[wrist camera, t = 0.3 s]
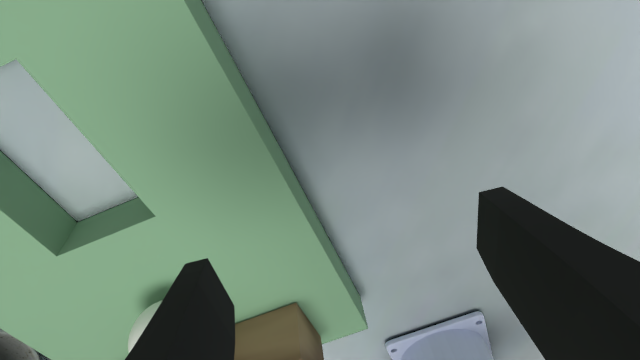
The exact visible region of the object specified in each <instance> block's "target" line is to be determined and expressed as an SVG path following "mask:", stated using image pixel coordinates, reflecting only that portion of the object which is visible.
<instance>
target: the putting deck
mask: <svg viewBox="0 0 640 360" xmlns="http://www.w3.org/2000/svg"><path fill="white" fill-rule="evenodd" d="M15 59H17V61H18V62H19V63H20V64H21V65H22V66H23V67H24V69H25V70H26V71H27V72H28V73H29V74H30V75H31V76H32V78H33V79H34V80H35V81H36V82H37V83H38V84H39V85H40V87H41V88H42V89H43V90H44V91H45V92H46V93H47V94H48V96H49V97H50V98H51V99H52V100H53V101H54V102H55V103H56V105H57V106H58V107H59V108H60V109H61V110H62V111H63V112H64V114H65V115H66V116H67V117H68V118H69V119H70V120H71V121H72V123H73V124H74V125H75V126H76V127H77V128H78V129H79V130H80V132H81V133H82V134H83V135H84V136H85V137H86V138H87V139H88V141H89V142H90V143H91V144H92V145H93V146H94V147H95V148H96V150H97V151H98V152H99V153H100V154H101V155H102V156H103V157H104V159H105V160H106V161H107V162H108V163H109V164H110V165H111V166H112V168H113V169H114V170H115V171H116V172H117V173H118V174H119V176H120V177H121V178H122V179H123V180H124V181H125V182H126V183H127V185H128V186H129V187H130V188H131V189H132V190H133V191H134V192H135V194H136V195H137V196H138V198H135V199H133V200H131V201H128V202H126V203H123V204H121V205H118V206H116V207H114V208H111V209H109V210H106V211H104V212H101V213H99V214H97V215H94V216H92V217H89V218H87V219H85V220H82V221H80V222H76V221H75V220H74V219H73V218H72V217H71V216H70V215H69V214H68V213H66V212H65V211H64V210H63V209H62V208H61V207H60V206H59V205H58V204H57V203H56V202H55V201H54V200H53V199H51V198H50V197H49V196H48V195H47V194H46V193H45V192H44V191H43V190H42V189H41V188H40V187H39V186H37V185H36V184H35V183H34V182H33V181H32V180H31V179H30V178H29V177H28V176H27V175H26V174H25V173H24V172H22V171H21V170H20V169H19V168H18V167H17V166H16V165H15V164H14V163H13V162H12V161H11V160H10V159H8V158H7V157H6V156H5V155H4V154H3V153H2V152H1V151H0V329H2V330H4V331H5V332H7V333H8V334H10V335H12V336H13V337H15V338H17V339H18V340H20V341H21V342H23V343H25V344H26V345H28V346H30V347H31V348H33V349H34V350H36V351H38V352H39V353H41V354H43V355H44V356H46V357H47V358H49V359H51V360H125V358H126V357H127V356H128V354H129V352H128V339H129V334H130V331H131V329H132V326H133V324H134V323H135V321H136V319H137V318H138V317H139V315H140V314H141V313H142V312H143V311H144V310H145V309H147V308H148V307H149V306H151V305H153V304H154V303H156V302H159V301H161V300H163V299H164V297H165V296H166V294H167V292H168V291H169V289H170V287H171V286H172V284H173V282H174V281H175V279H176V278H177V276H178V274H179V273H180V271H181V270H182V268H183V266H184V265H185V264H186V263H190V262H194V261H198V260H202V259H206V258H208V260H209V261H210V263H211V265H212V267H213V268H214V270H215V272H216V274H217V276H218V277H219V279H220V281H221V283H222V284H223V286H224V288H225V290H226V292H227V293H228V295H229V297H230V299H231V301H232V302H233V304H234V309H235V324H237V323H240V322H243V321H246V320H248V319H251V318H254V317H257V316H260V315H262V314H265V313H268V312H271V311H274V310H277V309H279V308H282V307H285V306H288V305H291V304H293V303H297V304H298V306H299V307H300V308H301V310H302V311H303V313H304V314H305V315H306V317H307V318H308V320H309V321H310V322H311V324H312V325H313V327H314V328H315V329H316V331H317V332H318V334H319V335H320V336H321V343H322V344H324V343H327V342H330V341H333V340H336V339H339V338H342V337H345V336H348V335H351V334H354V333H357V332H360V331H362V330H365V329H368V326H367V322H366V318H365V314H364V310H363V306H362V302H361V298H360V296H359V294H358V292H357V290H356V289H355V287H354V285H353V283H352V281H351V279H350V277H349V275H348V274H347V272H346V270H345V268H344V266H343V264H342V262H341V261H340V259H339V257H338V255H337V253H336V251H335V249H334V248H333V246H332V244H331V242H330V240H329V238H328V236H327V234H326V233H325V231H324V229H323V227H322V225H321V223H320V221H319V220H318V218H317V216H316V214H315V212H314V210H313V208H312V206H311V205H310V203H309V201H308V199H307V197H306V195H305V193H304V192H303V190H302V188H301V186H300V184H299V182H298V180H297V178H296V177H295V175H294V173H293V171H292V169H291V167H290V165H289V164H288V162H287V160H286V158H285V156H284V154H283V152H282V150H281V149H280V147H279V145H278V143H277V141H276V139H275V137H274V136H273V134H272V132H271V130H270V128H269V126H268V124H267V122H266V121H265V119H264V117H263V115H262V113H261V111H260V109H259V108H258V106H257V104H256V102H255V100H254V98H253V96H252V94H251V93H250V91H249V89H248V87H247V85H246V83H245V81H244V80H243V78H242V76H241V74H240V72H239V70H238V68H237V67H236V65H235V63H234V61H233V59H232V57H231V55H230V53H229V52H228V50H227V48H226V46H225V44H224V42H223V40H222V39H221V37H220V35H219V33H218V31H217V29H216V27H215V25H214V24H213V22H212V20H211V18H210V16H209V14H208V12H207V11H206V9H205V7H204V5H203V3H202V1H201V0H0V67H1V66H3V65H5V64H7V63H9V62H11V61H13V60H15Z"/></svg>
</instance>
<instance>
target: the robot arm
mask: <svg viewBox="0 0 640 360" xmlns="http://www.w3.org/2000/svg"><path fill="white" fill-rule="evenodd" d="M477 249H478V251H479V254H480V256H481V258H482V260H483V262H484V264H485V266H486V268H487V270H488V272H489V274H490V276H491V278H492V279H493V281H494V283H495V285H496V286H497V288H498V289H499V291H500V292H501V294H502V295H503V297H504V298H505V300H506V301H507V303H508V304H509V306H510V307H511V309H512V310H513V312H514V313H515V315H516V316H517V318H518V319H519V321H520V322H521V324H522V325H523V327H524V328H525V330H526V331H527V333H528V334H529V336H530V337H531V339H532V340H533V342H534V343H535V345H536V346H537V348H538V349H539V351H540V352H541V354H542V355H543V357H544V358H545V360H640V262H639V261H637V260H635V259H633V258H631V257H629V256H627V255H625V254H623V253H621V252H619V251H617V250H615V249H613V248H611V247H609V246H607V245H605V244H603V243H601V242H599V241H597V240H595V239H594V238H592V237H590V236H588V235H586V234H584V233H582V232H581V231H579V230H577V229H575V228H573V227H572V226H570V225H568V224H566V223H564V222H563V221H561V220H559V219H557V218H556V217H554V216H552V215H550V214H549V213H547V212H545V211H544V210H542V209H540V208H538V207H537V206H535V205H533V204H532V203H530V202H528V201H527V200H525V199H523V198H521V197H520V196H518V195H516V194H515V193H513V192H511V191H509V190H508V189H506V188H504V187H499V188H495V189H491V190H487V191H483V192H479V205H478V229H477ZM385 346H386V349H387V351H388V353H389V355H390V357H391V359H392V360H494V358H493V355H492V351H491V346H490V341H489V337H488V332H487V328H486V323H485V319H484V316H483V314H482V312H480V311H476V312H473V313H470V314H467V315H464V316H461V317H458V318H455V319H452V320H449V321H446V322H443V323H440V324H437V325H434V326H431V327H428V328H425V329H422V330H419V331H416V332H413V333H410V334H407V335H404V336H401V337H398V338H395V339H392V340H389V341H387V342H386V344H385ZM234 354H235V309H234V304H233V302H232V301H231V299H230V297H229V295H228V293H227V292H226V290H225V288H224V286H223V284H222V283H221V281H220V279H219V277H218V276H217V274H216V272H215V270H214V268H213V267H212V265H211V263H210V261H209V260H208V258H206V259H202V260H198V261H194V262H190V263H186V264H185V265H184V266H183V268H182V270H181V271H180V273H179V274H178V276H177V278H176V279H175V281H174V282H173V284H172V286H171V287H170V289H169V291H168V292H167V294H166V296H165V297H164V299H163V301H162V302H161V304H160V306H159V307H158V309H157V310H156V312H155V314H154V315H153V317H152V318H151V320H150V322H149V323H148V325H147V326H146V328H145V330H144V331H143V333H142V334H141V336H140V337H139V339H138V341H137V342H136V344H135V345H134V347H133V348H132V350H131V351H130V353H129V354H128V356H127V357H126V358H125V360H234Z"/></svg>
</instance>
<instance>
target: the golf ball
mask: <svg viewBox="0 0 640 360" xmlns="http://www.w3.org/2000/svg"><path fill="white" fill-rule="evenodd" d="M162 301H163V300H161V301H159V302H156V303H154V304H153V305H151V306H149V307H148V308H147V309H145V310H144V311H143V312H142V313H141V314H140V315H139V317H138V318H137V319H136V321H135V323H134V324H133V326H132V329H131V331H130V334H129V339H128V352H129V353H130V351H131V350H132V348H133V347H134V345H135V344H136V342H137V341H138V339H139V337H140V336H141V334H142V333H143V331H144V330H145V328H146V326H147V325H148V323H149V322H150V320H151V318H152V317H153V315H154V314H155V312H156V310H157V309H158V307H159V306H160V304H161V302H162Z"/></svg>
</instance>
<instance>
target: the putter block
mask: <svg viewBox="0 0 640 360" xmlns="http://www.w3.org/2000/svg"><path fill="white" fill-rule="evenodd" d="M234 360H324V357H323V350H322V343H321V336H320V335H319V334H318V332H317V331H316V329H315V328H314V327H313V325H312V324H311V322H310V321H309V320H308V318H307V317H306V315H305V314H304V313H303V311H302V310H301V308H300V307H299V306H298V304H297V303H293V304H291V305H288V306H285V307H282V308H279V309H277V310H274V311H271V312H268V313H265V314H262V315H260V316H257V317H254V318H251V319H248V320H246V321H243V322H240V323H237V324H235V354H234Z"/></svg>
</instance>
